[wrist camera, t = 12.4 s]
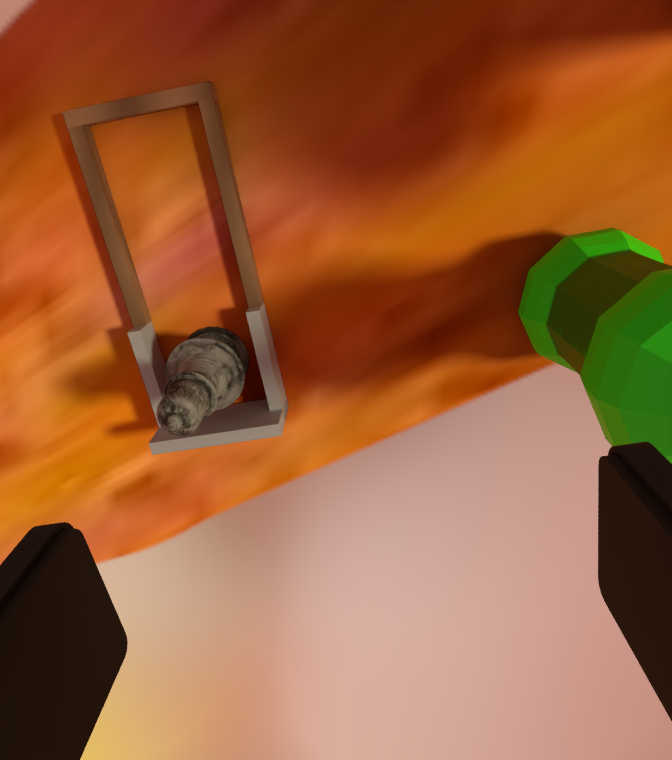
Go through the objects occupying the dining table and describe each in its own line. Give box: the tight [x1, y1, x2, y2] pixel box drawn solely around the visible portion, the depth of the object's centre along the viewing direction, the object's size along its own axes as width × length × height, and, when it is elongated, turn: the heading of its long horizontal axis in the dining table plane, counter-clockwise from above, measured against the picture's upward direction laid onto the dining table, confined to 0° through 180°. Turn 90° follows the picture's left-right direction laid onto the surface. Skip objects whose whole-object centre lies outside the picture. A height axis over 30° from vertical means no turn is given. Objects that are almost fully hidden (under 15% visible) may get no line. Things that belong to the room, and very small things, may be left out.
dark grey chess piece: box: [156, 327, 249, 436], centre depth 39 cm, size 6×6×12 cm
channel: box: [62, 81, 264, 327], centre depth 40 cm, size 10×15×1 cm, turn 10°
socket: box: [127, 302, 288, 455], centre depth 42 cm, size 10×9×5 cm
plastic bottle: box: [518, 228, 672, 464], centre depth 30 cm, size 10×10×25 cm
